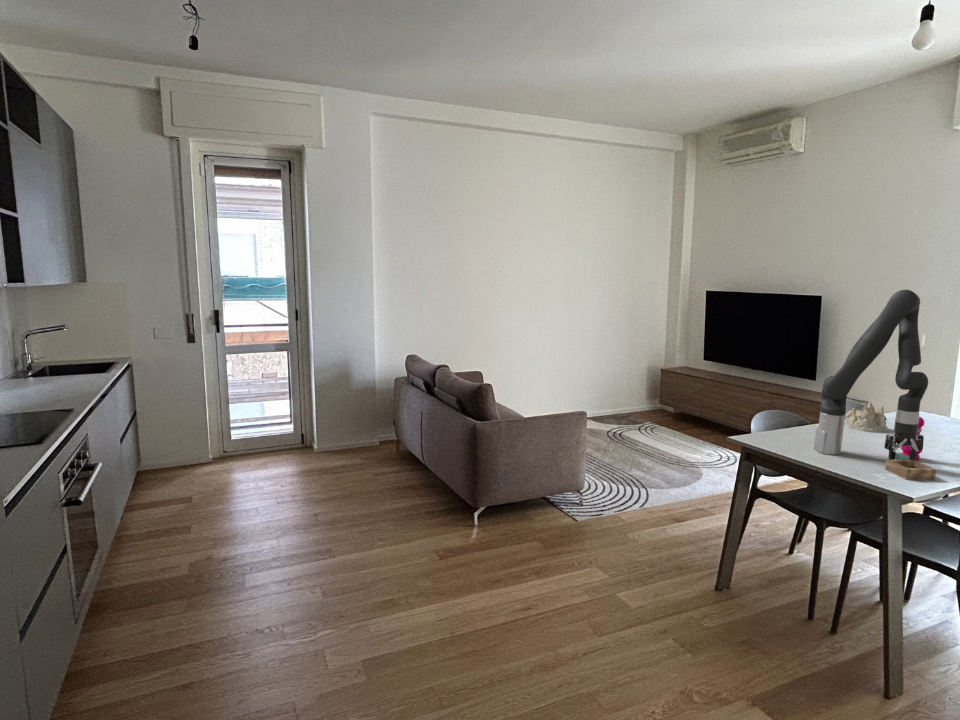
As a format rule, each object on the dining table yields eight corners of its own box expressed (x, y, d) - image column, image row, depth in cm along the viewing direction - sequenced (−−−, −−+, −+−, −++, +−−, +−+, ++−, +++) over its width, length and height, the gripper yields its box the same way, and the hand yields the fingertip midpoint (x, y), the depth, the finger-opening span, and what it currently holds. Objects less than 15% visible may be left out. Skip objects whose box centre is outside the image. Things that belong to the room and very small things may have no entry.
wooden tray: (906, 479, 215) (907, 469, 214) (885, 469, 226) (886, 459, 225) (934, 479, 215) (936, 469, 215) (912, 469, 226) (913, 459, 225)
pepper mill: (895, 455, 243) (901, 410, 240) (911, 455, 243) (917, 410, 240) (908, 461, 236) (915, 414, 232) (925, 461, 236) (932, 414, 233)
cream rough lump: (893, 432, 277) (894, 402, 276) (859, 433, 277) (861, 402, 276) (871, 425, 293) (872, 396, 291) (839, 426, 293) (840, 397, 291)
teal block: (907, 468, 227) (909, 456, 226) (900, 468, 227) (902, 456, 226) (898, 464, 232) (900, 452, 231) (891, 464, 232) (893, 452, 231)
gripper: (897, 423, 223) (892, 463, 225) (931, 423, 224) (926, 462, 226) (882, 418, 230) (878, 457, 233) (916, 418, 231) (911, 456, 234)
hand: (902, 459), depth 229 cm, fingers open, 8 cm apart
